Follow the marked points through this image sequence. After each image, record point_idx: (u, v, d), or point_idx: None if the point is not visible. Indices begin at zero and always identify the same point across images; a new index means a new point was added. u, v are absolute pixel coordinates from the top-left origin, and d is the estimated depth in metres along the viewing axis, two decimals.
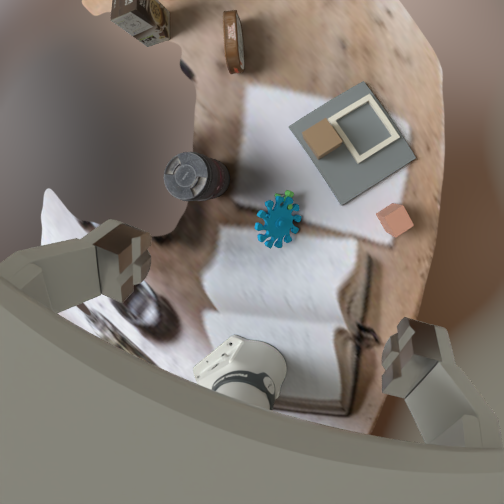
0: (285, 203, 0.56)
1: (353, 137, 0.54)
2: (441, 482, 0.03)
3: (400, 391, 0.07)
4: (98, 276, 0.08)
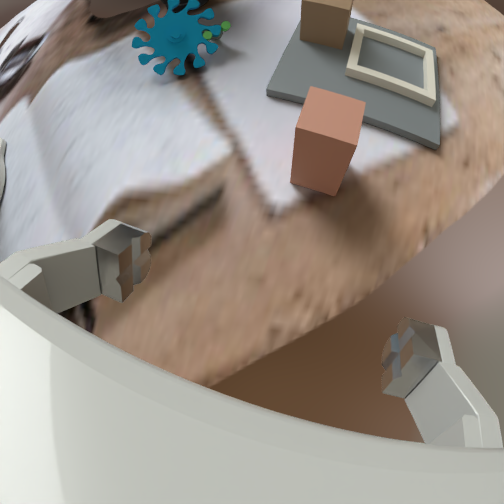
0: (208, 26, 0.28)
1: (369, 58, 0.28)
2: (441, 482, 0.03)
3: (400, 391, 0.07)
4: (98, 276, 0.08)
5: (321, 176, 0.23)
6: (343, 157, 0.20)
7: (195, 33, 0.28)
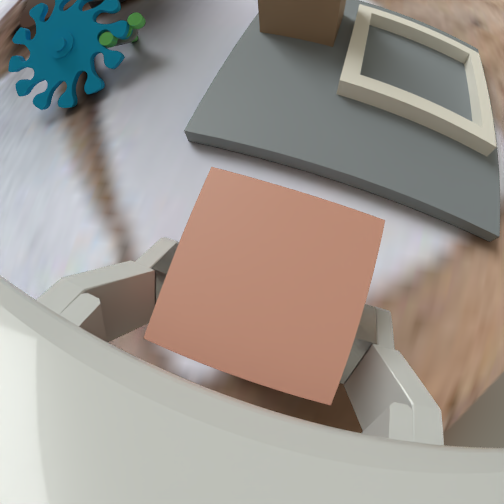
0: (109, 25, 0.15)
1: (381, 61, 0.16)
2: (441, 482, 0.03)
3: None
4: (154, 300, 0.08)
5: None
6: None
7: (88, 38, 0.15)
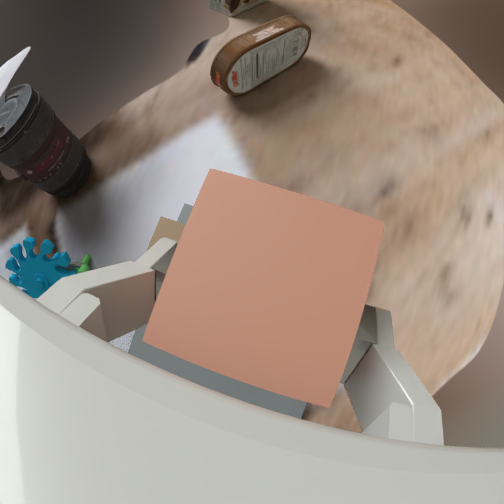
0: (67, 273, 0.28)
1: None
2: (441, 482, 0.03)
3: None
4: (154, 300, 0.08)
5: None
6: None
7: None
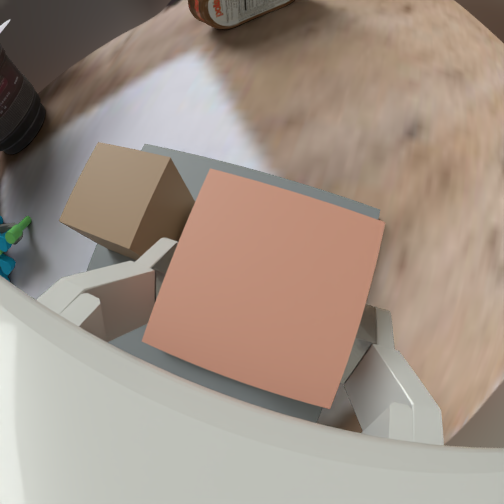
0: None
1: None
2: (441, 482, 0.03)
3: None
4: (154, 300, 0.08)
5: None
6: None
7: None
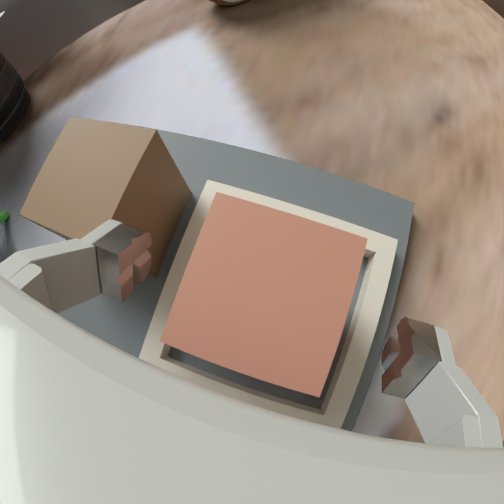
0: None
1: None
2: (441, 482, 0.03)
3: (400, 391, 0.07)
4: (98, 275, 0.08)
5: None
6: None
7: None
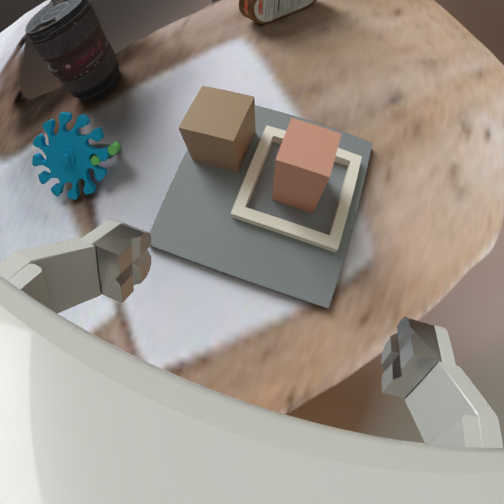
0: (97, 149, 0.28)
1: (271, 182, 0.30)
2: (441, 482, 0.03)
3: (400, 391, 0.07)
4: (98, 276, 0.08)
5: (300, 197, 0.26)
6: (318, 185, 0.23)
7: (83, 158, 0.28)
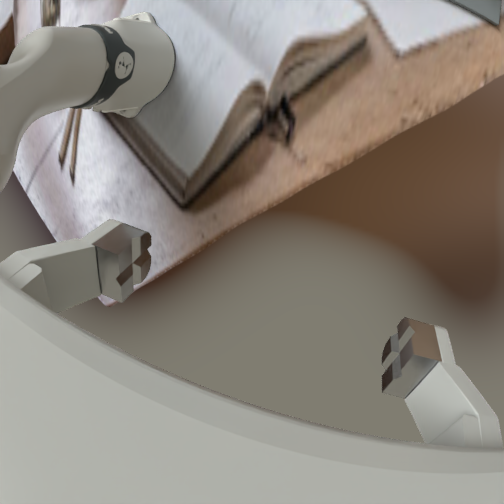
0: None
1: None
2: (441, 482, 0.03)
3: (400, 391, 0.07)
4: (98, 275, 0.08)
5: None
6: None
7: None
